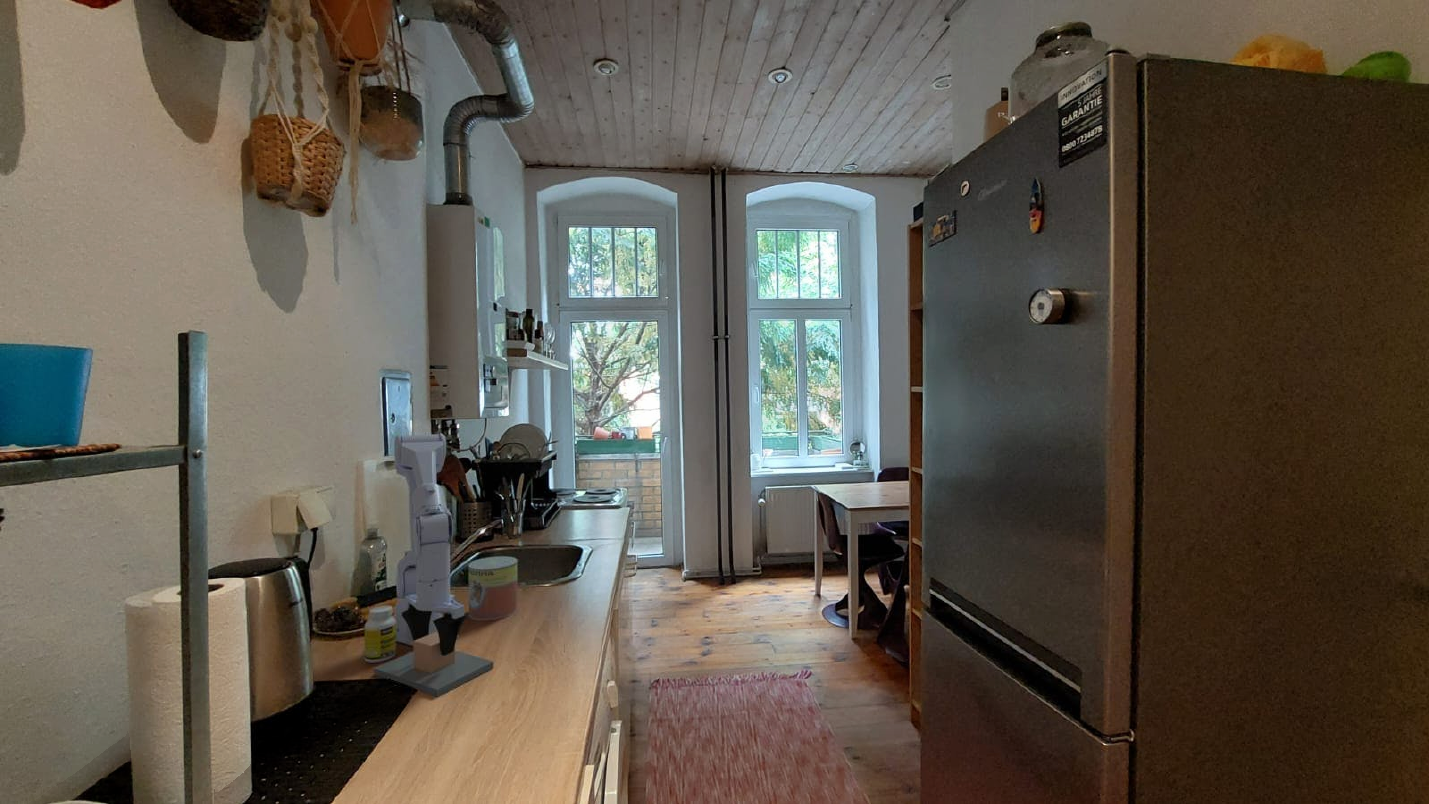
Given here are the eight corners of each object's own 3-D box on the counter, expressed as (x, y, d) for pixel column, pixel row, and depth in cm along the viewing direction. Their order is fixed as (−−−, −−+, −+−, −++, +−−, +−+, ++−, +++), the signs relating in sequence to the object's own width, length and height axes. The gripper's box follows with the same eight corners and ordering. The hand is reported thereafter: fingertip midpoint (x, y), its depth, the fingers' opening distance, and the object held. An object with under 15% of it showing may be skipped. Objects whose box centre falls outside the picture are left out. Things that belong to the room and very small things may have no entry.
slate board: (374, 674, 107) (374, 668, 107) (431, 649, 117) (431, 643, 117) (437, 696, 98) (437, 689, 98) (493, 667, 109) (493, 661, 109)
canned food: (458, 614, 137) (458, 564, 137) (498, 600, 147) (497, 554, 147) (488, 623, 131) (488, 571, 131) (527, 608, 141) (527, 560, 141)
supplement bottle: (381, 664, 111) (381, 614, 111) (358, 662, 112) (357, 612, 112) (402, 652, 116) (402, 604, 116) (379, 650, 117) (379, 603, 117)
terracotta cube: (413, 667, 107) (413, 641, 107) (437, 657, 111) (437, 631, 111) (431, 673, 104) (431, 646, 104) (454, 662, 109) (454, 636, 109)
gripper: (477, 577, 108) (478, 648, 108) (427, 567, 115) (428, 634, 115) (444, 587, 102) (445, 663, 102) (394, 577, 109) (394, 648, 109)
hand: (434, 649), depth 108 cm, fingers open, 7 cm apart
